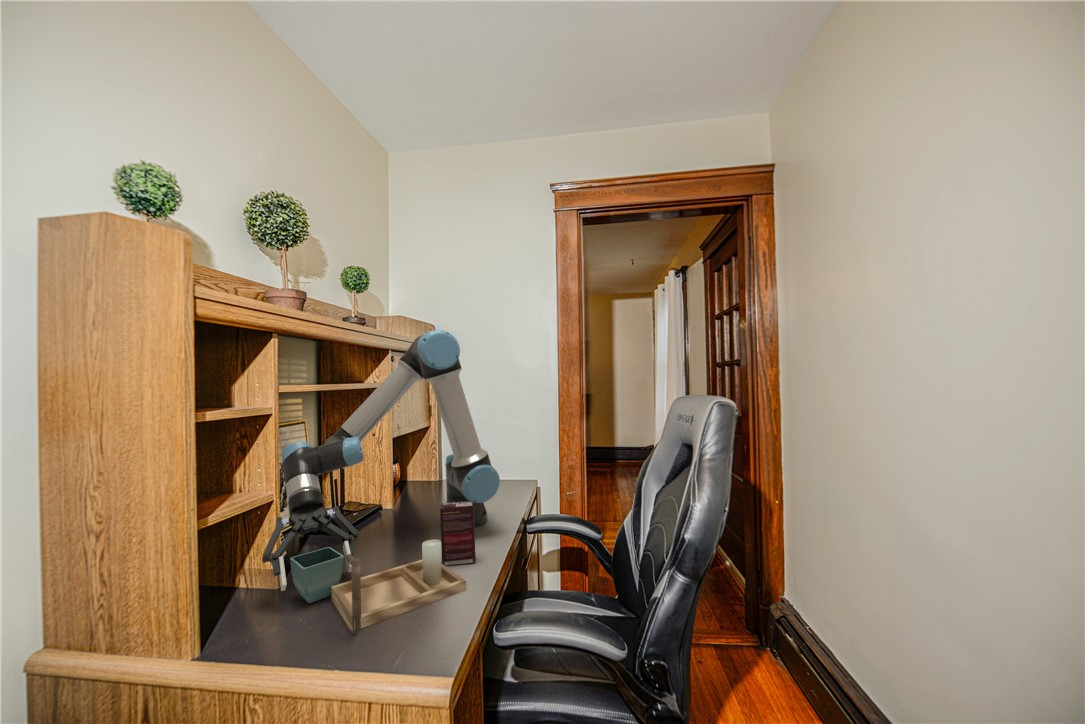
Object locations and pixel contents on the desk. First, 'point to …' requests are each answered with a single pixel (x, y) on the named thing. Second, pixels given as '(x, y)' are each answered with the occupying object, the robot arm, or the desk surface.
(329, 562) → the flower pot
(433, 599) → the caddy
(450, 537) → the supplement box
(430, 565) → the pillar candle
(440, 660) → the desk surface
